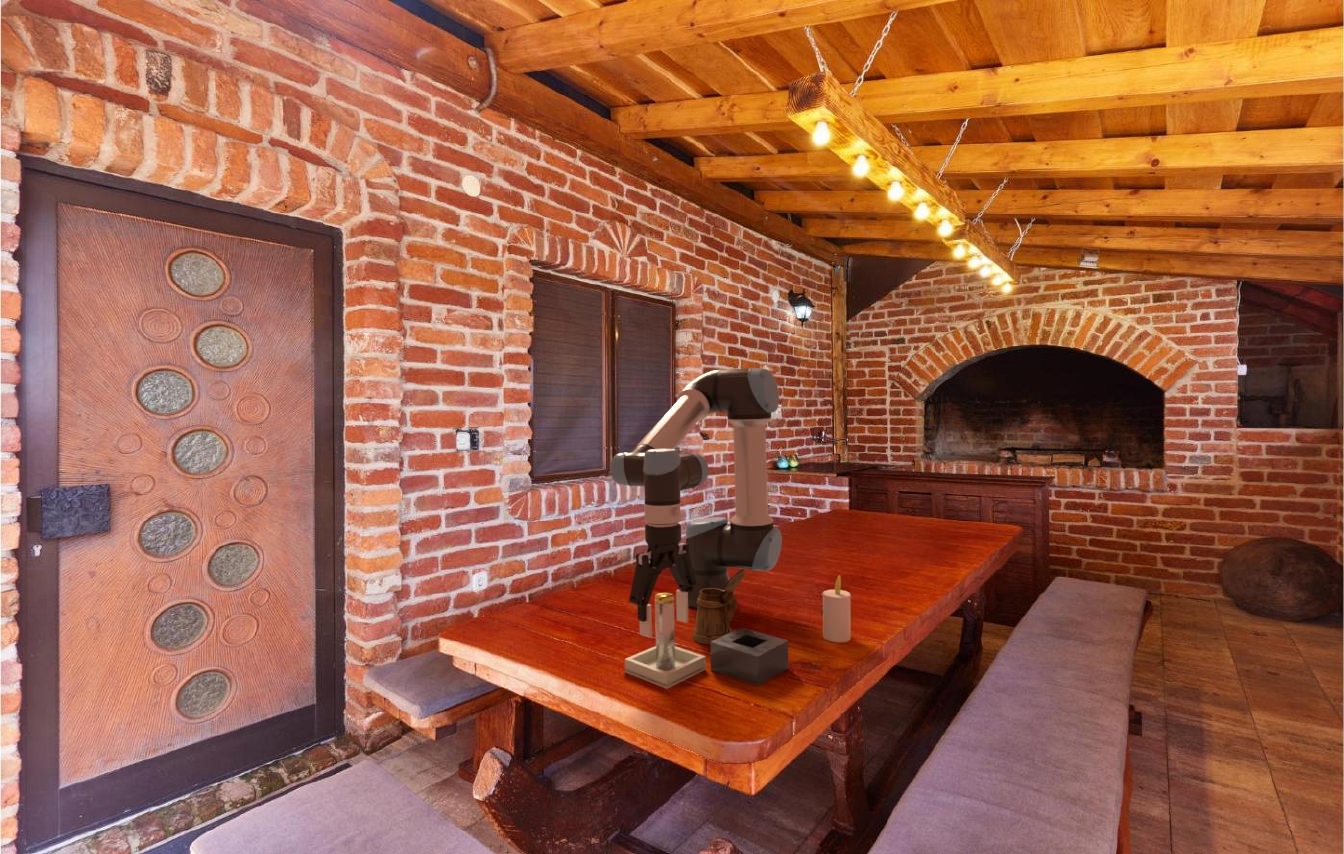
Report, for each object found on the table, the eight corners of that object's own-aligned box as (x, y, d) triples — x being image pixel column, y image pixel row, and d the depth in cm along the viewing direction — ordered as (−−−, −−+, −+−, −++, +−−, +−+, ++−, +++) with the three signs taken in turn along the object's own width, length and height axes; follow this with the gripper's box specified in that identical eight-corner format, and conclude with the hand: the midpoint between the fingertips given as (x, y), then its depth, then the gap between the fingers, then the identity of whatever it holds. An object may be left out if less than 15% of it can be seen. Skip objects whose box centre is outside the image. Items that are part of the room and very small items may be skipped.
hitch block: (710, 669, 136) (710, 641, 135) (742, 654, 144) (741, 627, 143) (758, 686, 127) (757, 656, 127) (788, 668, 135) (788, 640, 135)
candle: (826, 630, 157) (825, 569, 156) (853, 634, 154) (852, 572, 153) (819, 639, 151) (818, 576, 151) (847, 643, 148) (847, 579, 148)
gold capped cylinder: (652, 667, 135) (650, 595, 135) (665, 661, 138) (664, 591, 138) (666, 672, 133) (664, 599, 132) (679, 666, 136) (677, 595, 135)
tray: (625, 672, 135) (624, 659, 135) (664, 654, 144) (663, 642, 144) (666, 688, 127) (666, 674, 127) (705, 669, 136) (705, 656, 136)
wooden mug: (733, 652, 145) (732, 573, 144) (685, 639, 153) (684, 564, 152) (754, 640, 152) (753, 564, 151) (707, 628, 160) (706, 556, 159)
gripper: (635, 534, 123) (637, 648, 124) (711, 517, 140) (713, 617, 141) (609, 530, 128) (611, 639, 129) (685, 513, 145) (687, 610, 146)
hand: (664, 628), depth 135 cm, fingers open, 10 cm apart
